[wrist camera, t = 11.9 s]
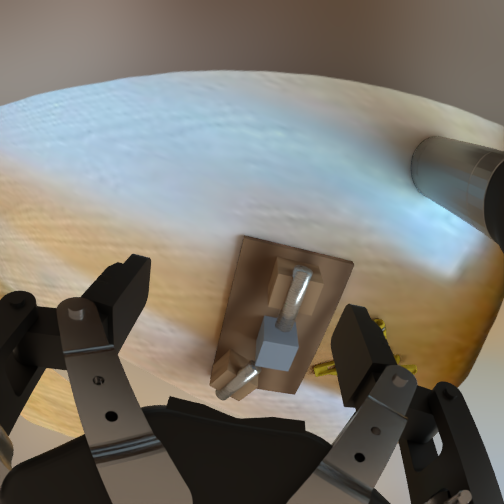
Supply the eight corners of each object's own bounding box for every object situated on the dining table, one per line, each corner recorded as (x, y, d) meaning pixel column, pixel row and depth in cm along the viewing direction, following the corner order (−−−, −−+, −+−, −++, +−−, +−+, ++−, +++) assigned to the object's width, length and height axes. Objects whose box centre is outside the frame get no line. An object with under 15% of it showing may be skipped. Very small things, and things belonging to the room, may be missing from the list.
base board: (352, 261, 44) (363, 281, 39) (294, 390, 56) (296, 414, 50) (244, 235, 43) (240, 253, 38) (210, 375, 55) (206, 399, 49)
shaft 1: (261, 364, 47) (261, 375, 45) (227, 392, 51) (226, 402, 48) (249, 357, 47) (248, 368, 45) (216, 385, 50) (214, 396, 48)
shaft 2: (311, 267, 40) (313, 276, 38) (291, 323, 44) (292, 333, 42) (293, 263, 40) (295, 272, 38) (274, 319, 44) (275, 330, 42)
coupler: (295, 321, 48) (298, 347, 42) (286, 345, 50) (288, 371, 44) (264, 315, 47) (263, 340, 42) (256, 339, 50) (255, 365, 44)
